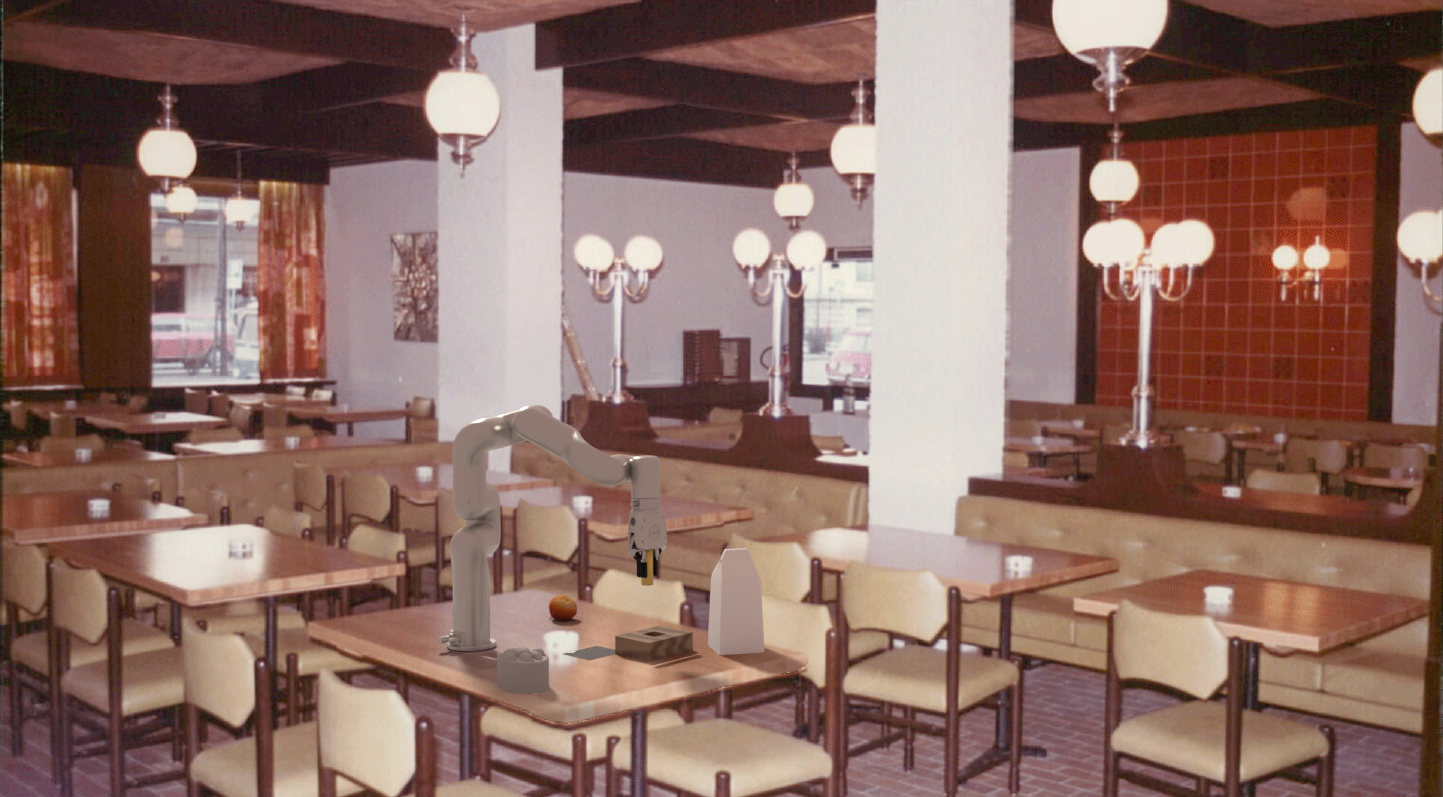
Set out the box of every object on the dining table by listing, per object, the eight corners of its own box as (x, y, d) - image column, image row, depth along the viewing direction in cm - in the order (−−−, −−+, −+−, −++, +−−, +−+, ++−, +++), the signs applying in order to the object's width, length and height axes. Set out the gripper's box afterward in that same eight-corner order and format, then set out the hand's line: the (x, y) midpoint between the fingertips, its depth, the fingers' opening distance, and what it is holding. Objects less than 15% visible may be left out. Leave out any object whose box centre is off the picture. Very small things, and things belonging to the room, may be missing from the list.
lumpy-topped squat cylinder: (530, 678, 309) (530, 642, 309) (559, 689, 299) (559, 652, 299) (491, 685, 302) (491, 648, 302) (520, 697, 292) (520, 659, 292)
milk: (719, 655, 332) (719, 553, 331) (707, 645, 343) (707, 546, 342) (764, 652, 335) (764, 551, 334) (751, 642, 346) (751, 544, 345)
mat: (589, 661, 325) (589, 660, 325) (562, 655, 331) (562, 653, 331) (623, 653, 334) (623, 651, 334) (596, 647, 340) (596, 645, 340)
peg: (647, 586, 331) (646, 548, 330) (638, 584, 333) (638, 547, 332) (655, 584, 333) (655, 547, 332) (647, 583, 335) (646, 546, 334)
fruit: (557, 610, 381) (567, 588, 378) (574, 627, 377) (585, 605, 374) (537, 614, 374) (548, 592, 372) (555, 632, 371) (566, 609, 368)
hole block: (649, 663, 324) (649, 643, 323) (615, 655, 332) (615, 635, 331) (692, 651, 336) (692, 632, 336) (659, 644, 344) (659, 625, 343)
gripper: (633, 508, 323) (634, 582, 324) (679, 502, 336) (679, 573, 336) (612, 506, 328) (613, 579, 329) (658, 500, 340) (659, 570, 341)
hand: (647, 575), depth 333 cm, fingers closed on peg, 3 cm apart
